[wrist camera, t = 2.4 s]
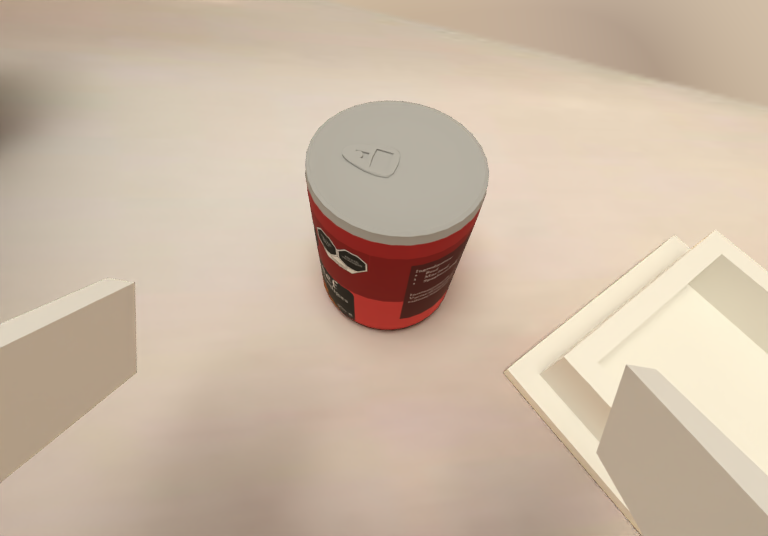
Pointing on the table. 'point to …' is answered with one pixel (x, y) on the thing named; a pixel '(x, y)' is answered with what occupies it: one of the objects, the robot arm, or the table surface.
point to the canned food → (392, 208)
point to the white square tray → (660, 350)
